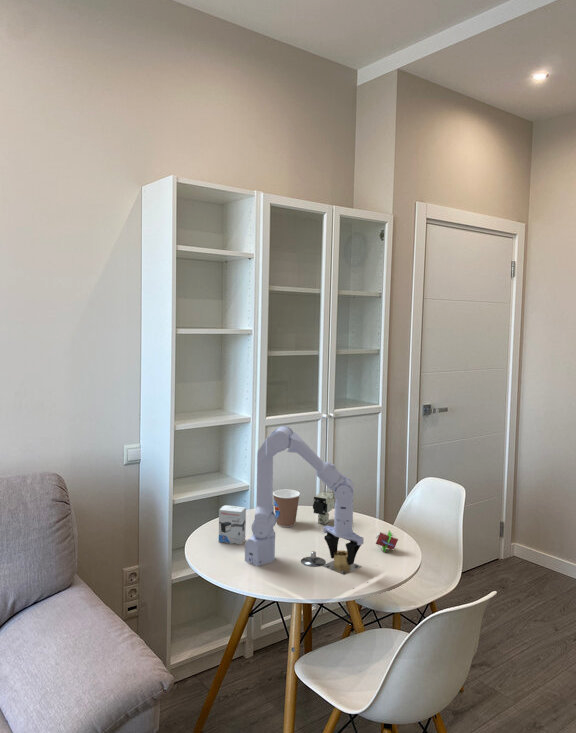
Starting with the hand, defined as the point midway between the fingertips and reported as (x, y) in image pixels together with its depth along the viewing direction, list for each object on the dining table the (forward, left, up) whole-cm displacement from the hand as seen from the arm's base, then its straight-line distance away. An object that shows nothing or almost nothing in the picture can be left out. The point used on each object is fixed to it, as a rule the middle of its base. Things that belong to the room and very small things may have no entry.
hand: (342, 560), depth 189 cm
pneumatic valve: (+28, +31, -3) cm, 42 cm away
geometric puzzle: (+23, -1, -3) cm, 23 cm away
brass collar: (0, 0, -2) cm, 2 cm away
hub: (0, 0, -3) cm, 3 cm away
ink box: (-10, +41, -3) cm, 42 cm away
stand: (-4, +8, -3) cm, 10 cm away
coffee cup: (+16, +40, -3) cm, 43 cm away
